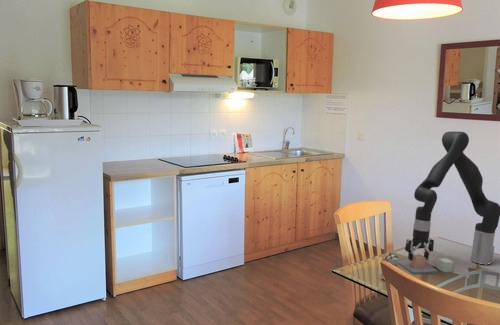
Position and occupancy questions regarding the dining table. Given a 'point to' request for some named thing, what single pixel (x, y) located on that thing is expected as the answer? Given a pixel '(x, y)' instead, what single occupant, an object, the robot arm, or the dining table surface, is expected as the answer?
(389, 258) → the food container
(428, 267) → the baseplate
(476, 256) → the robot arm
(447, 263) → the sage brick
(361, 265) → the dining table surface
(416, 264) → the terracotta brick
